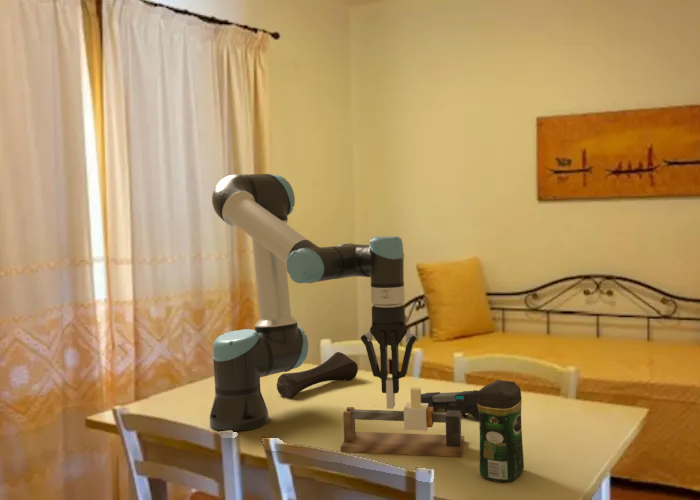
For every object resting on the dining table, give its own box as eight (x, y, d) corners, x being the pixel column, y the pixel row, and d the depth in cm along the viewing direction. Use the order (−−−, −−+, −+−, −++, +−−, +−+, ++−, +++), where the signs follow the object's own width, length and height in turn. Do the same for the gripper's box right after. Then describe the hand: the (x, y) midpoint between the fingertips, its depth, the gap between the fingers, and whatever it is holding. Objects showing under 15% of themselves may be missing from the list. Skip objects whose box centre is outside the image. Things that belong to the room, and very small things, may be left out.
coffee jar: (491, 462, 143) (489, 375, 142) (528, 469, 138) (526, 379, 137) (473, 478, 135) (471, 387, 133) (512, 486, 130) (510, 391, 129)
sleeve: (404, 430, 151) (402, 391, 151) (407, 423, 156) (406, 385, 156) (426, 430, 150) (425, 391, 150) (429, 423, 155) (427, 386, 154)
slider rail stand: (340, 451, 153) (339, 413, 152) (350, 436, 162) (349, 400, 162) (461, 457, 146) (460, 417, 146) (464, 440, 156) (463, 403, 155)
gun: (480, 422, 168) (468, 383, 169) (420, 434, 181) (409, 397, 182) (490, 418, 171) (477, 379, 173) (430, 429, 184) (419, 393, 186)
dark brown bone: (346, 383, 220) (283, 414, 199) (332, 354, 222) (267, 382, 201) (367, 371, 212) (303, 403, 192) (351, 341, 214) (287, 370, 194)
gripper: (356, 307, 151) (359, 410, 152) (414, 307, 148) (417, 413, 149) (363, 302, 158) (366, 401, 160) (418, 302, 155) (421, 402, 157)
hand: (390, 406), depth 155 cm, fingers closed
